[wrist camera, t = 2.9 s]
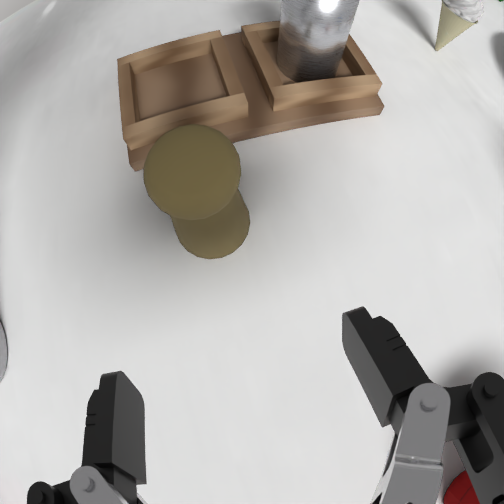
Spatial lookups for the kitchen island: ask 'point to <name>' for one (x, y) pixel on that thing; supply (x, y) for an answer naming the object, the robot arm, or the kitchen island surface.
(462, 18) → the ice cream cone
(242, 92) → the brown wooden flat tray
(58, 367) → the kitchen island surface
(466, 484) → the plastic cup
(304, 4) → the steel billet
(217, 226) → the cork
